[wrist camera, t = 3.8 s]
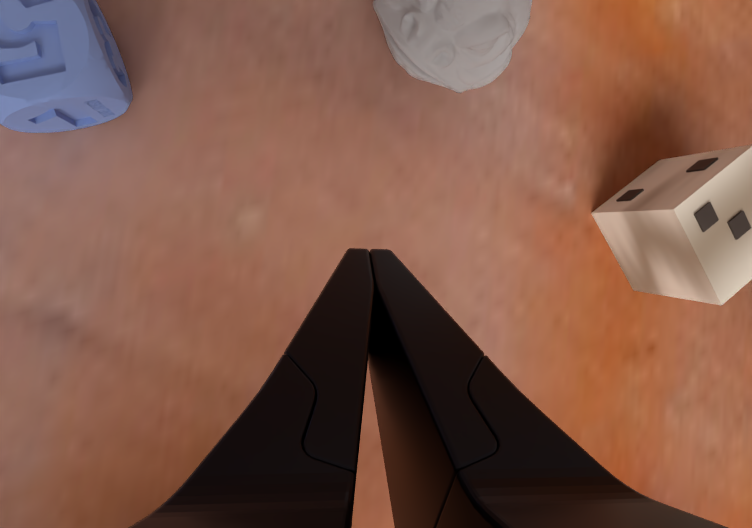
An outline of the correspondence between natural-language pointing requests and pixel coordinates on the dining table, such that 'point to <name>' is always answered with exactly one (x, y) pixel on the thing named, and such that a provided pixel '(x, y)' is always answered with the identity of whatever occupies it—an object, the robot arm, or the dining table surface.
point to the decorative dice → (59, 66)
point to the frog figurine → (453, 38)
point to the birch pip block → (685, 226)
